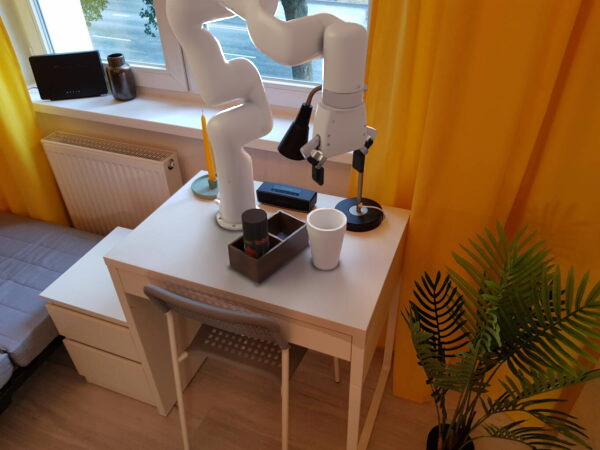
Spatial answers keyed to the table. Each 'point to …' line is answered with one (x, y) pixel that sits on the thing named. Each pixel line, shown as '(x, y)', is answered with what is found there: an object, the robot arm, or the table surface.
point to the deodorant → (255, 232)
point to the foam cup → (326, 236)
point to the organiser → (271, 247)
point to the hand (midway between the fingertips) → (338, 176)
